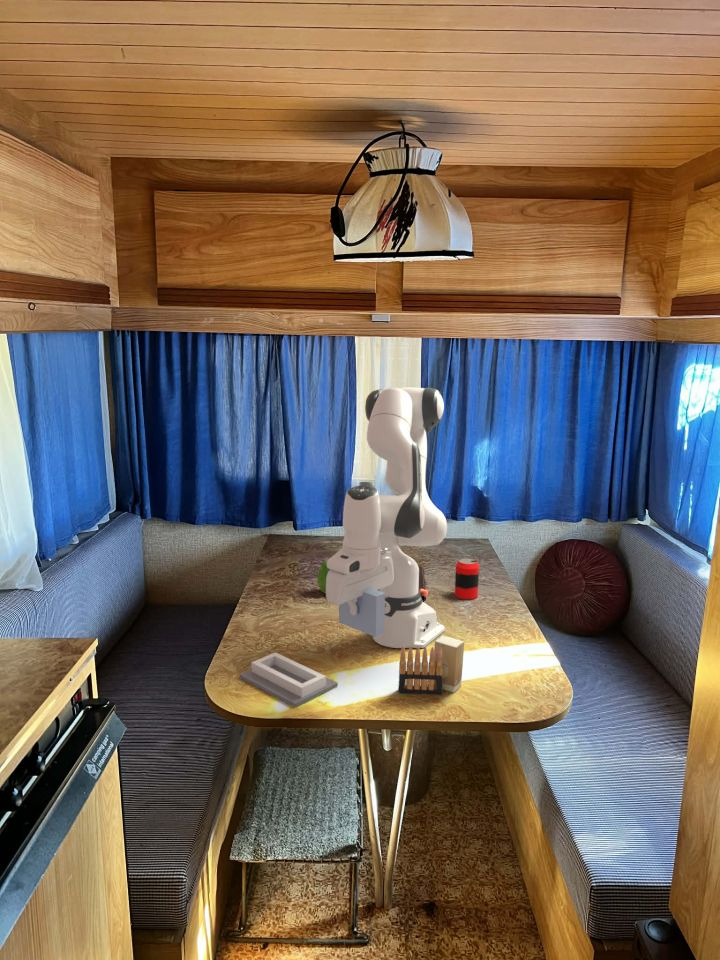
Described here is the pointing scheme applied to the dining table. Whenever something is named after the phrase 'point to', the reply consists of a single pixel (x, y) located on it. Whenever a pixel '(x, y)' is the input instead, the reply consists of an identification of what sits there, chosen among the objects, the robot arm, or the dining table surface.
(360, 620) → the door panel
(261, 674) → the track base
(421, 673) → the ammunition clip
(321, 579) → the avocado
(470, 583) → the soda can
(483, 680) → the dining table surface
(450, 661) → the skincare box
